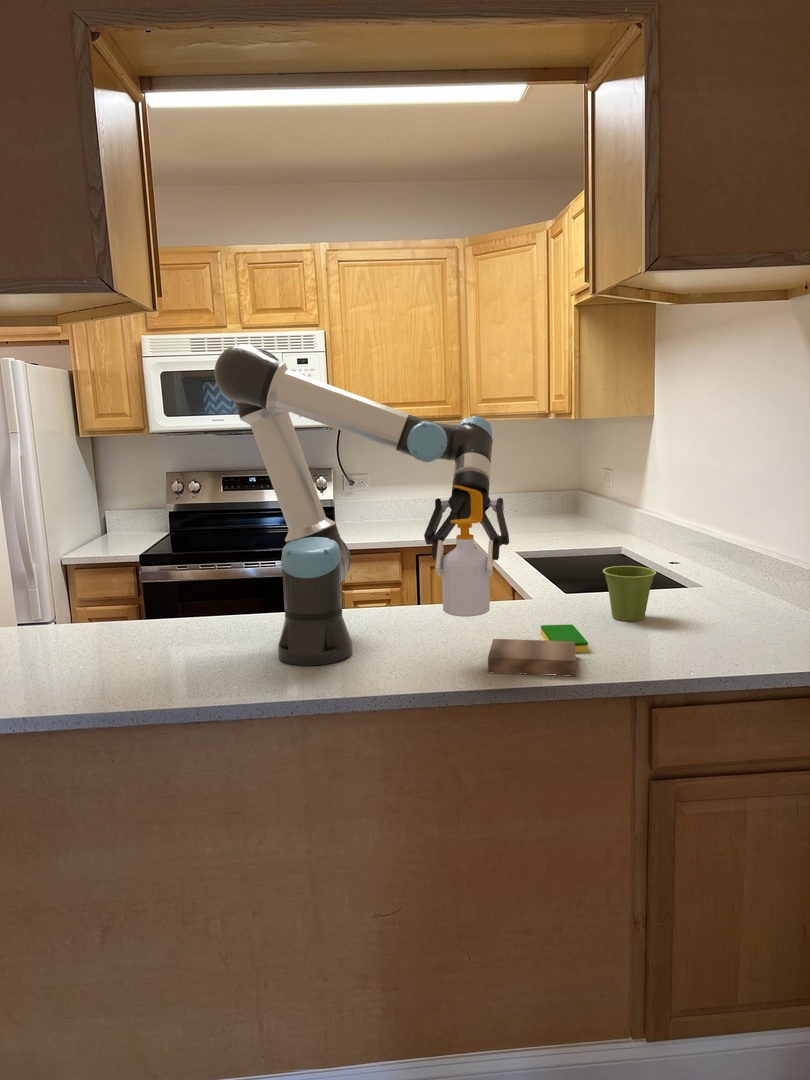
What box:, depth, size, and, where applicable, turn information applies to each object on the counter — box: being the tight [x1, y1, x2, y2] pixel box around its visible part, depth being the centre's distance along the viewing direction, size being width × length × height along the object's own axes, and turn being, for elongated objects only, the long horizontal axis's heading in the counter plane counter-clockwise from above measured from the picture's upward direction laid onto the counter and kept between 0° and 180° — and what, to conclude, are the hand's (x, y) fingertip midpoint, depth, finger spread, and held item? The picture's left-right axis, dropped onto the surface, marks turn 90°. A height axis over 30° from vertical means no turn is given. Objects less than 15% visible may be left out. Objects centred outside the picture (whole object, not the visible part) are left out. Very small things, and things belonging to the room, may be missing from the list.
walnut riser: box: [487, 638, 577, 677], centre depth 143 cm, size 16×12×3 cm
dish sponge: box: [540, 623, 589, 653], centre depth 157 cm, size 7×14×2 cm, turn 0°
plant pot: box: [602, 565, 657, 622], centre depth 173 cm, size 12×12×11 cm
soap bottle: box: [441, 484, 491, 618], centre depth 143 cm, size 9×9×25 cm
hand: (463, 572), depth 140 cm, fingers closed on soap bottle, 9 cm apart
